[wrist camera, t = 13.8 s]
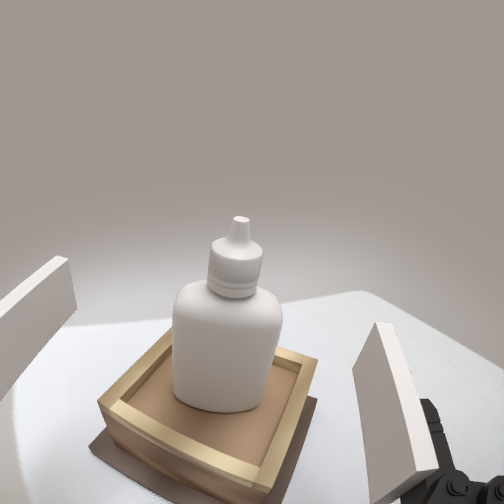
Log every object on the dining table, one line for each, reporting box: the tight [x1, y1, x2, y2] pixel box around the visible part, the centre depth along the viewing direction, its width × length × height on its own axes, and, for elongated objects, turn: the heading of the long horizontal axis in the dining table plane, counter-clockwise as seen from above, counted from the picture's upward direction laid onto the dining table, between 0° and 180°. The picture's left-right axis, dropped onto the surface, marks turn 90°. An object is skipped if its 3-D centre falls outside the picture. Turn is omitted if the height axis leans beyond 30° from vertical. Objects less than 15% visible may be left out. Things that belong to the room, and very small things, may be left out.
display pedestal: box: [88, 327, 318, 504], centre depth 20 cm, size 14×14×7 cm
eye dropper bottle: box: [172, 216, 283, 413], centre depth 16 cm, size 4×6×12 cm
